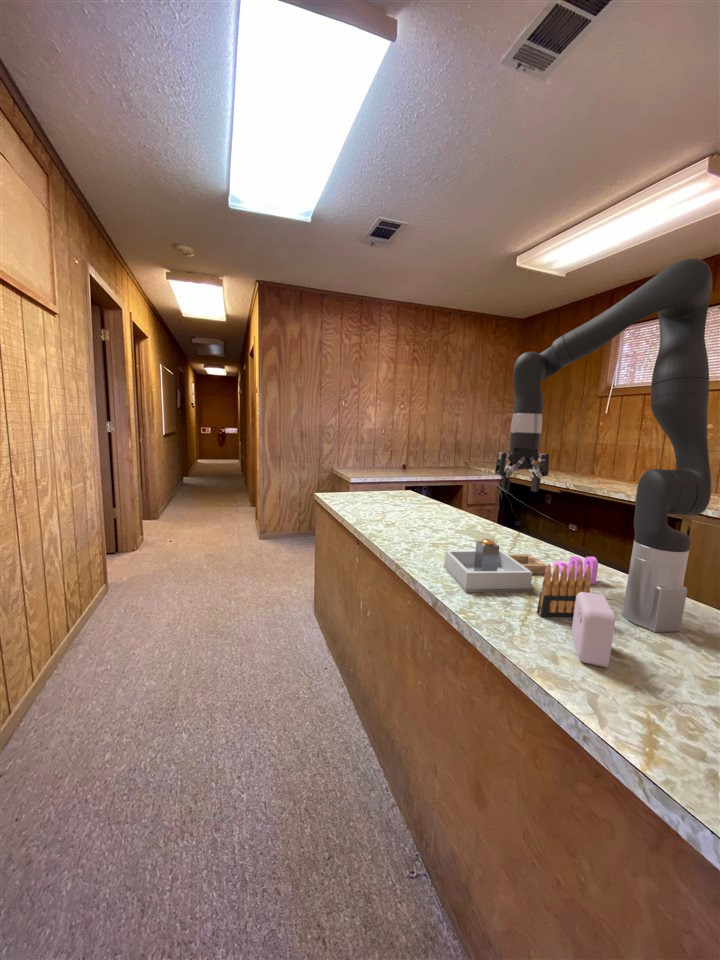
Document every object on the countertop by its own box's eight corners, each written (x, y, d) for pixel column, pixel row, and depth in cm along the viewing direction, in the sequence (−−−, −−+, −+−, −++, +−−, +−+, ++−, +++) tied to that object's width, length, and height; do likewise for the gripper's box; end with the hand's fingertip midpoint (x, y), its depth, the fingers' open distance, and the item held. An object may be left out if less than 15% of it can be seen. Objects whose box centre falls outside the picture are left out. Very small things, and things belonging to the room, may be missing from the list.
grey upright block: (488, 572, 104) (492, 538, 103) (496, 578, 100) (499, 543, 99) (473, 572, 104) (476, 538, 102) (480, 579, 100) (483, 543, 98)
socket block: (546, 574, 107) (547, 565, 106) (516, 574, 106) (517, 565, 105) (529, 562, 116) (530, 554, 115) (501, 562, 115) (501, 554, 114)
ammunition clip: (583, 614, 85) (590, 563, 83) (588, 618, 83) (595, 566, 81) (536, 613, 84) (542, 562, 82) (540, 617, 82) (547, 565, 80)
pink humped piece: (595, 584, 101) (599, 559, 100) (575, 584, 101) (578, 559, 100) (567, 566, 114) (570, 543, 113) (549, 565, 114) (552, 543, 113)
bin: (530, 591, 95) (532, 572, 94) (465, 592, 93) (467, 573, 93) (500, 566, 111) (501, 550, 110) (444, 567, 109) (445, 550, 108)
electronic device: (568, 635, 76) (574, 588, 74) (595, 640, 74) (602, 592, 73) (576, 664, 67) (584, 611, 65) (607, 671, 65) (615, 617, 63)
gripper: (540, 432, 106) (535, 489, 108) (493, 430, 103) (488, 488, 105) (559, 432, 98) (552, 494, 100) (508, 430, 96) (503, 493, 98)
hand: (519, 491), depth 103 cm, fingers open, 8 cm apart
